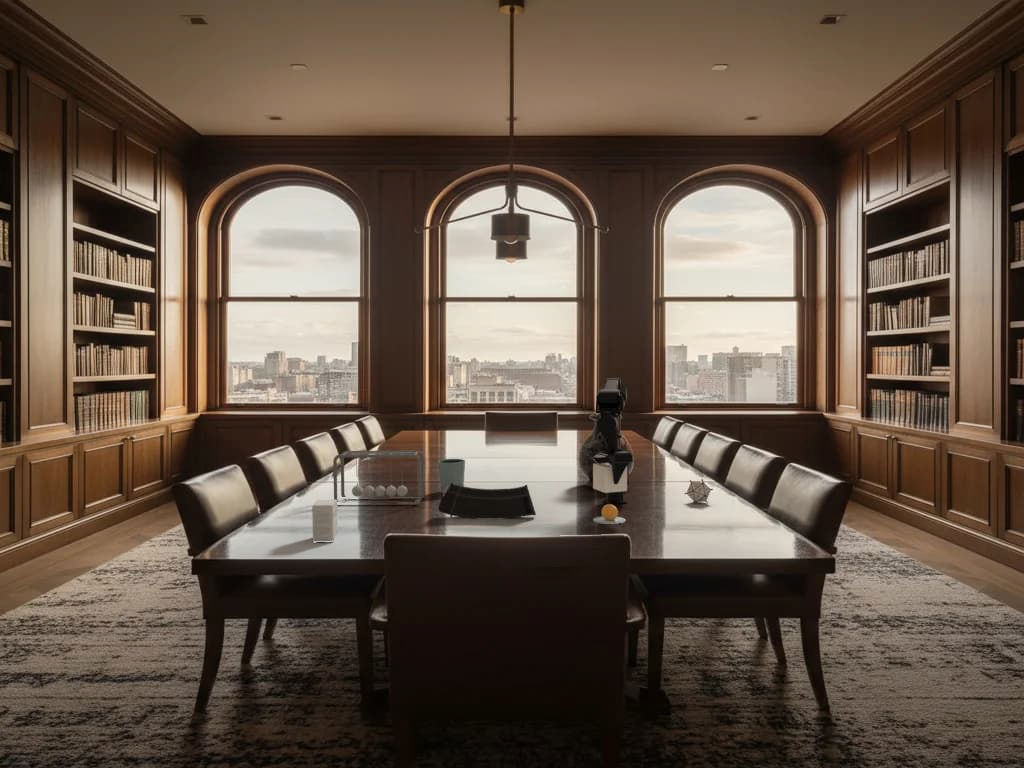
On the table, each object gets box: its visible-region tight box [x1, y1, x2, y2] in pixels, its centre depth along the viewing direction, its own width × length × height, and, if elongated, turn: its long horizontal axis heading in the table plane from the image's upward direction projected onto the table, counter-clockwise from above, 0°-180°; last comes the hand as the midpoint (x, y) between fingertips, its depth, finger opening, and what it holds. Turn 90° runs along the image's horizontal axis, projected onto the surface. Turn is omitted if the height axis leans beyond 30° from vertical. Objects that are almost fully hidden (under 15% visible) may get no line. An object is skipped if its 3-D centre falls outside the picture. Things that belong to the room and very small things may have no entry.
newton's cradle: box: [332, 450, 426, 505], centre depth 245 cm, size 30×10×18 cm, turn 89°
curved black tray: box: [438, 482, 537, 519], centre depth 221 cm, size 17×3×30 cm
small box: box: [311, 499, 338, 542], centre depth 195 cm, size 8×6×10 cm
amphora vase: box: [578, 413, 635, 489], centre depth 273 cm, size 22×22×28 cm
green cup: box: [437, 458, 466, 493], centre depth 263 cm, size 10×10×12 cm
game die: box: [683, 478, 714, 505], centre depth 241 cm, size 9×8×10 cm
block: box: [592, 463, 628, 494], centre depth 215 cm, size 8×8×8 cm
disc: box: [592, 515, 627, 525], centre depth 216 cm, size 10×10×1 cm
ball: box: [601, 503, 619, 521], centre depth 216 cm, size 5×5×5 cm
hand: (609, 481), depth 215 cm, fingers closed on block, 8 cm apart
